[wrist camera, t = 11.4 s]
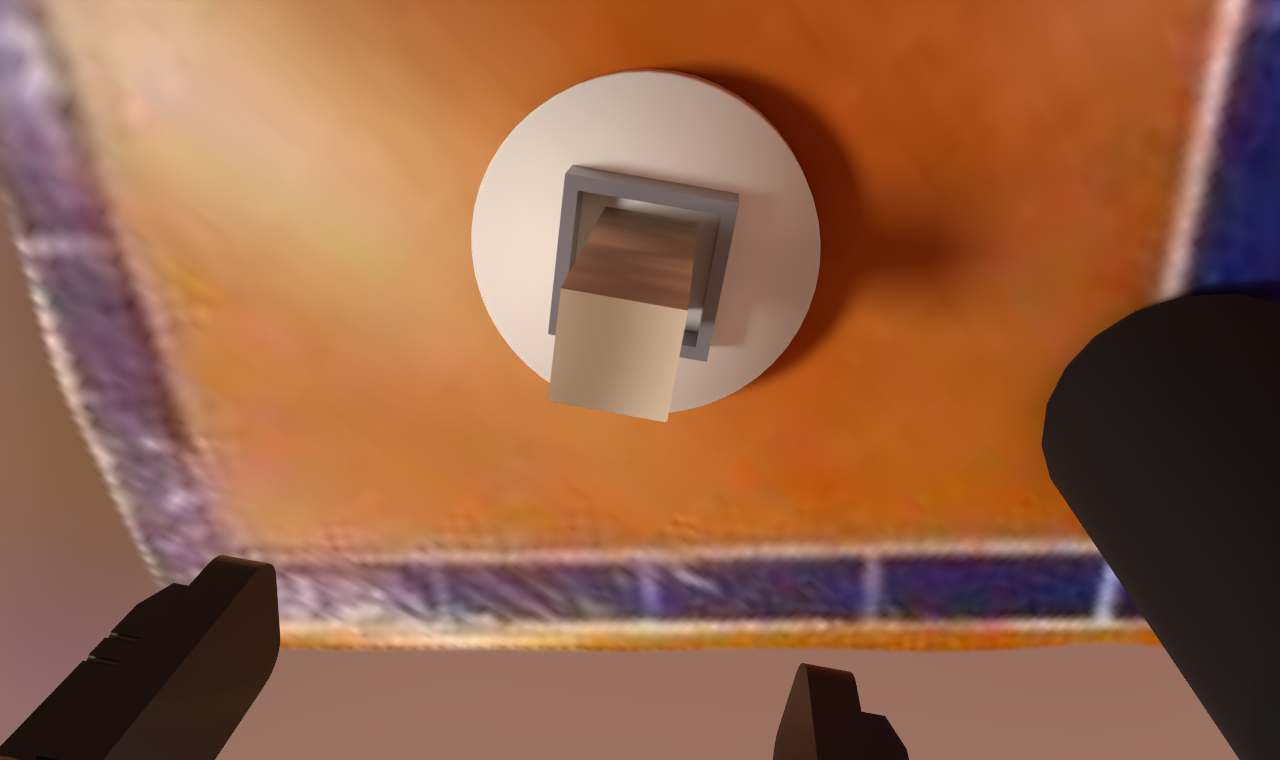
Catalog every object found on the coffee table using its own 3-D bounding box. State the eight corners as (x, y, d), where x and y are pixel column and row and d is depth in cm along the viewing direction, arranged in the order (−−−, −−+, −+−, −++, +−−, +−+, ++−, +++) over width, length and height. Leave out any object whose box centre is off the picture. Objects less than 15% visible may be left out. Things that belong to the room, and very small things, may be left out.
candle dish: (854, 100, 29) (869, 114, 26) (773, 415, 35) (778, 457, 31) (497, 40, 29) (469, 46, 26) (476, 363, 35) (451, 400, 32)
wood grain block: (697, 222, 29) (687, 310, 21) (681, 309, 31) (667, 422, 23) (605, 206, 29) (560, 288, 21) (593, 293, 31) (548, 400, 23)
